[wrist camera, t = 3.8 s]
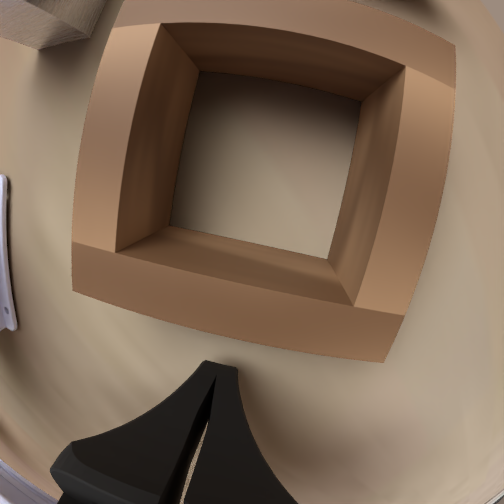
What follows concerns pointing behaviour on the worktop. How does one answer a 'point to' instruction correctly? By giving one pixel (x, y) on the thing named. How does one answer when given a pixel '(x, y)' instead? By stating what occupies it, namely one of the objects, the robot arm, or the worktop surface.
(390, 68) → the square wooden frame
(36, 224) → the worktop surface
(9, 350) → the worktop surface
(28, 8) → the grey rectangular block
